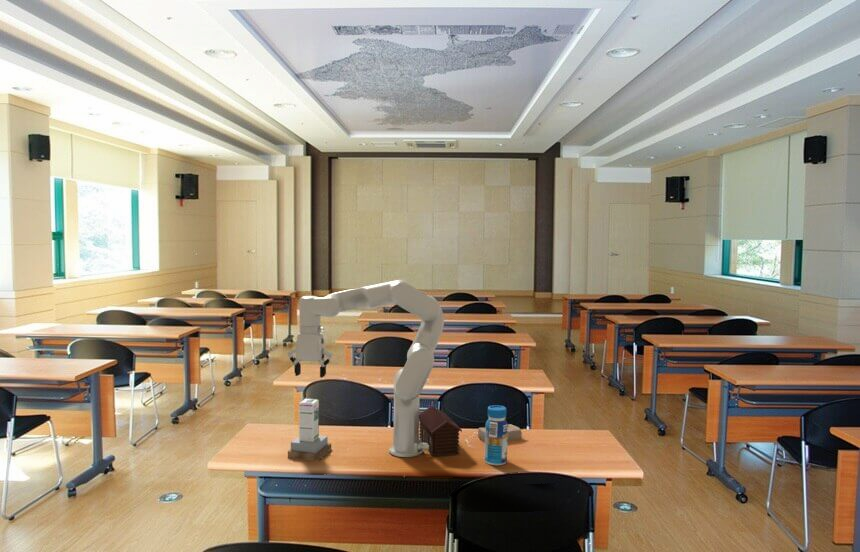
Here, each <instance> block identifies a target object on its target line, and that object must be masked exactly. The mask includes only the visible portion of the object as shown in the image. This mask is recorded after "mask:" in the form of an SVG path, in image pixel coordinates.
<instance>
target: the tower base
mask: <svg viewBox="0 0 860 552" xmlns="http://www.w3.org/2000/svg"><path fill="white" fill-rule="evenodd" d="M331 450H332V442H331V443H330V442H328V444H327V445H326V446H324V447H323V448H322V449H321V450H319V451H318V452H317V453H309V452H301V451H293V450H291V448H290V449H289V450H288V451H287V458H289V459H299V460H307V461H316V462H317V461H318V462H319V461H320V460H321V459H322V458H323V457H325V455H327V454H328V453H329V452H330V451H331Z"/></svg>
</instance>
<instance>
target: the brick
mask: <svg viewBox="0 0 860 552" xmlns="http://www.w3.org/2000/svg"><path fill="white" fill-rule="evenodd" d="M485 430H486V427H479V428H478V430H477V437H478V438H479V440H480V439H481V441H482V442H484V443H485ZM507 431H508V442H511V441H517V440H521V439H522V438H523V435H522V434H523V432H522V429H521V428H520V427H519V426H516V425H513V424H512V423H511V424H510V423H509V424H508V429H507Z"/></svg>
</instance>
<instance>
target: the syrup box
mask: <svg viewBox="0 0 860 552" xmlns="http://www.w3.org/2000/svg"><path fill="white" fill-rule="evenodd" d="M319 401H320V400H319V399H317V398H304V399H303V400H302V401H300V402H299V403H298V437H299V441H306V442H314V441H315V440H316V439H317V438H318V437H319V433H320V432H319V430H320V429H319V428H320V426H319V424H320V417H319V415H320V413H319V411H320V409H319V408H320V407H319V406H320V404H319V403H320V402H319Z"/></svg>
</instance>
